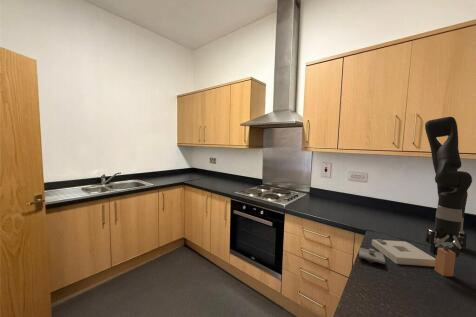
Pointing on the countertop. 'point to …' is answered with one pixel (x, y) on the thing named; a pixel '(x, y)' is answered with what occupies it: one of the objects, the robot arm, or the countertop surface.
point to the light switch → (371, 255)
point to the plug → (445, 261)
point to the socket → (403, 253)
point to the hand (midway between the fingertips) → (444, 255)
